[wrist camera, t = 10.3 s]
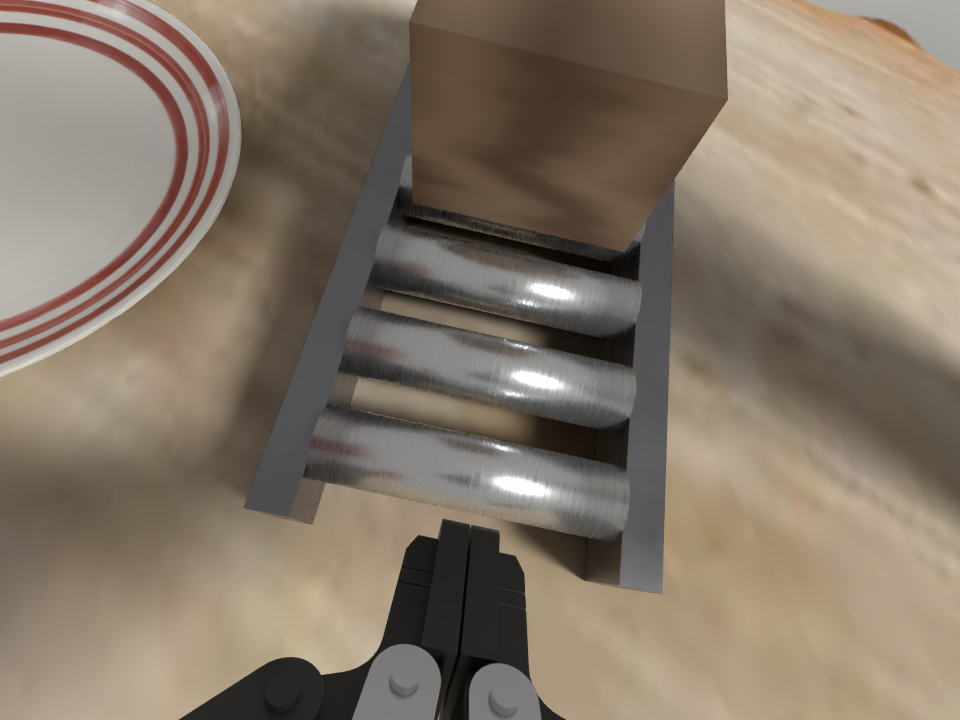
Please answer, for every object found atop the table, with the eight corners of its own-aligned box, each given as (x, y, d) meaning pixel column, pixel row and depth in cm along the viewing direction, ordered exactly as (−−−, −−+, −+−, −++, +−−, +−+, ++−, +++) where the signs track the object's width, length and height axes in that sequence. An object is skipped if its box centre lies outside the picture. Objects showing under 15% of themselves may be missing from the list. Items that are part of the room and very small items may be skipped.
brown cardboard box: (640, 56, 28) (720, -126, 20) (624, 252, 22) (727, 99, 15) (471, 14, 27) (491, -186, 20) (412, 203, 22) (409, 21, 14)
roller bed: (649, 111, 33) (726, -39, 25) (619, 587, 21) (750, 607, 13) (433, 59, 32) (437, -113, 24) (275, 516, 20) (176, 488, 12)
